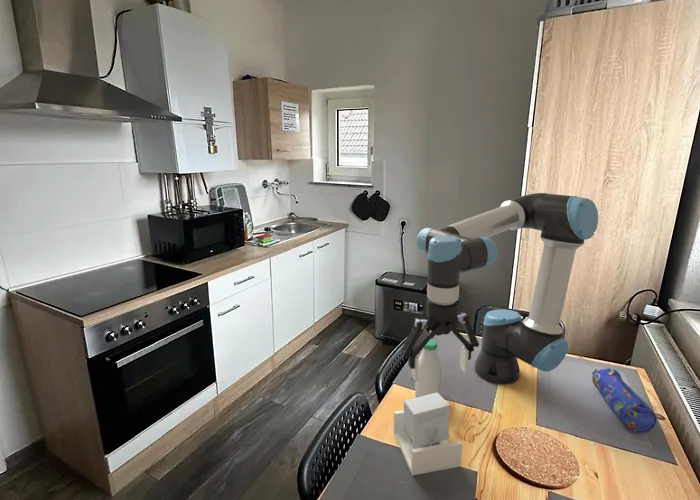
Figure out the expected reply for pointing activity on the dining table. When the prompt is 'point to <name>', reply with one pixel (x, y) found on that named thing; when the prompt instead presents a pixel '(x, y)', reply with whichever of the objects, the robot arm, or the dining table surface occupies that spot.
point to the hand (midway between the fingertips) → (439, 374)
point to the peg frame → (426, 451)
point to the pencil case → (624, 401)
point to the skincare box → (426, 420)
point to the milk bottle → (428, 371)
